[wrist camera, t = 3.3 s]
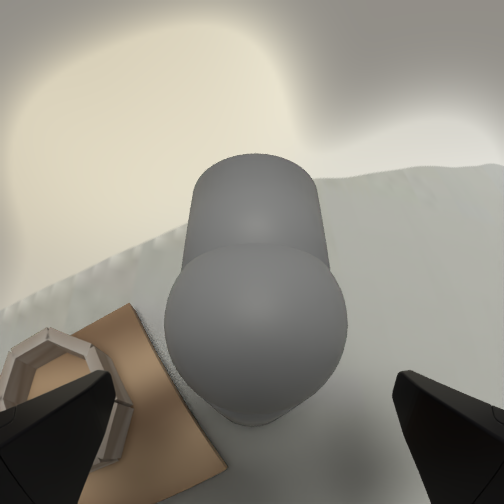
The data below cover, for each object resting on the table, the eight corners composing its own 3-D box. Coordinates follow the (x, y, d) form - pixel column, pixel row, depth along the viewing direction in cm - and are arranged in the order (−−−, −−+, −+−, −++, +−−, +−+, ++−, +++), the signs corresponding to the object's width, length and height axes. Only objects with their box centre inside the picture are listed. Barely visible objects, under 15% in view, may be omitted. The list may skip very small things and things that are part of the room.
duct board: (228, 467, 15) (217, 481, 10) (9, 541, 9) (-43, 548, 3) (134, 310, 20) (100, 262, 15) (-42, 408, 14) (-93, 387, 9)
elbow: (294, 425, 16) (389, 394, 5) (209, 425, 16) (124, 395, 5) (290, 318, 20) (338, 149, 9) (214, 318, 20) (173, 147, 9)
